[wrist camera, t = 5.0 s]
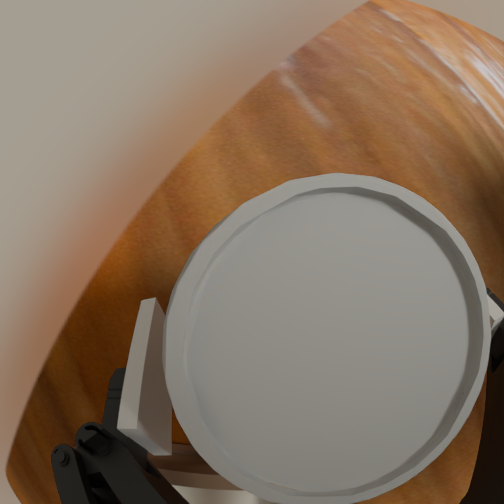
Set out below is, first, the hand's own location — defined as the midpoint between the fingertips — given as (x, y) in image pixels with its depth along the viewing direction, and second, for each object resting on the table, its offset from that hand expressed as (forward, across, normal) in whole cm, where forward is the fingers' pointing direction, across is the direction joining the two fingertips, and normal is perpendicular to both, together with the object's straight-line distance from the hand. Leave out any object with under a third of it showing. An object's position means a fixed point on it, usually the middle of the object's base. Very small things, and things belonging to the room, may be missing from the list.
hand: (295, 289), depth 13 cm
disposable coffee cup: (+2, 0, -5) cm, 5 cm away
